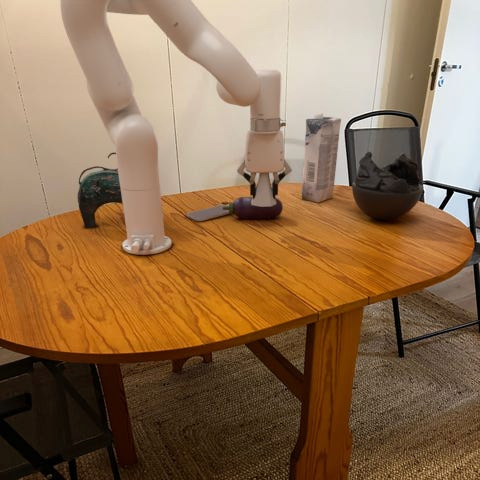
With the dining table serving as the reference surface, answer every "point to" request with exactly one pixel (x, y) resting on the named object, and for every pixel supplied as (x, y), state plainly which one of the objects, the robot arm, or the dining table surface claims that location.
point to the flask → (263, 192)
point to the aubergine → (253, 209)
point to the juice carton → (320, 157)
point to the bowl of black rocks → (387, 187)
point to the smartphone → (208, 213)
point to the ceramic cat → (98, 192)
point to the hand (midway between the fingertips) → (263, 197)
